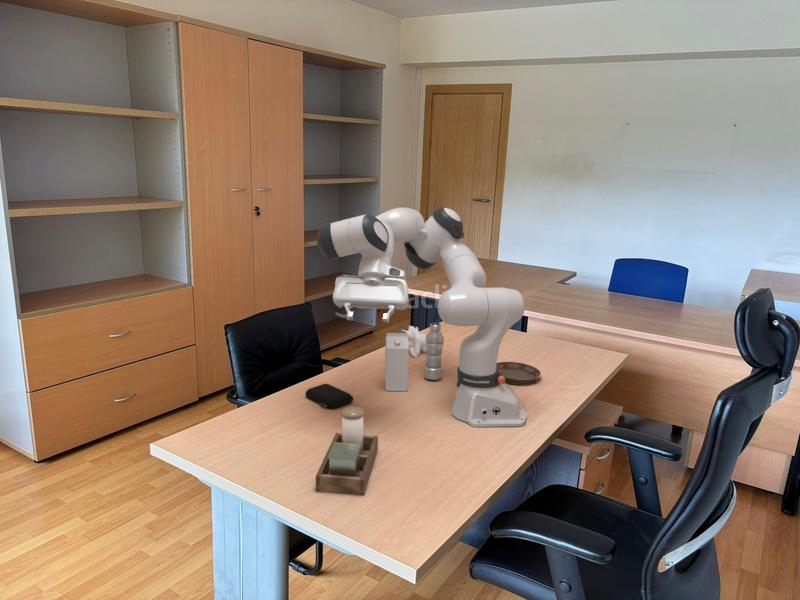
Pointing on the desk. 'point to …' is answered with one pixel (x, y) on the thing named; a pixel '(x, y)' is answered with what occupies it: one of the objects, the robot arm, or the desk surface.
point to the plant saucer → (518, 372)
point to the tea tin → (344, 459)
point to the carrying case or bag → (329, 396)
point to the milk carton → (396, 361)
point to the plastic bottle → (434, 352)
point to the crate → (345, 482)
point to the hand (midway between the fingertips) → (367, 320)
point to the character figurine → (416, 340)
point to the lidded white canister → (353, 426)
